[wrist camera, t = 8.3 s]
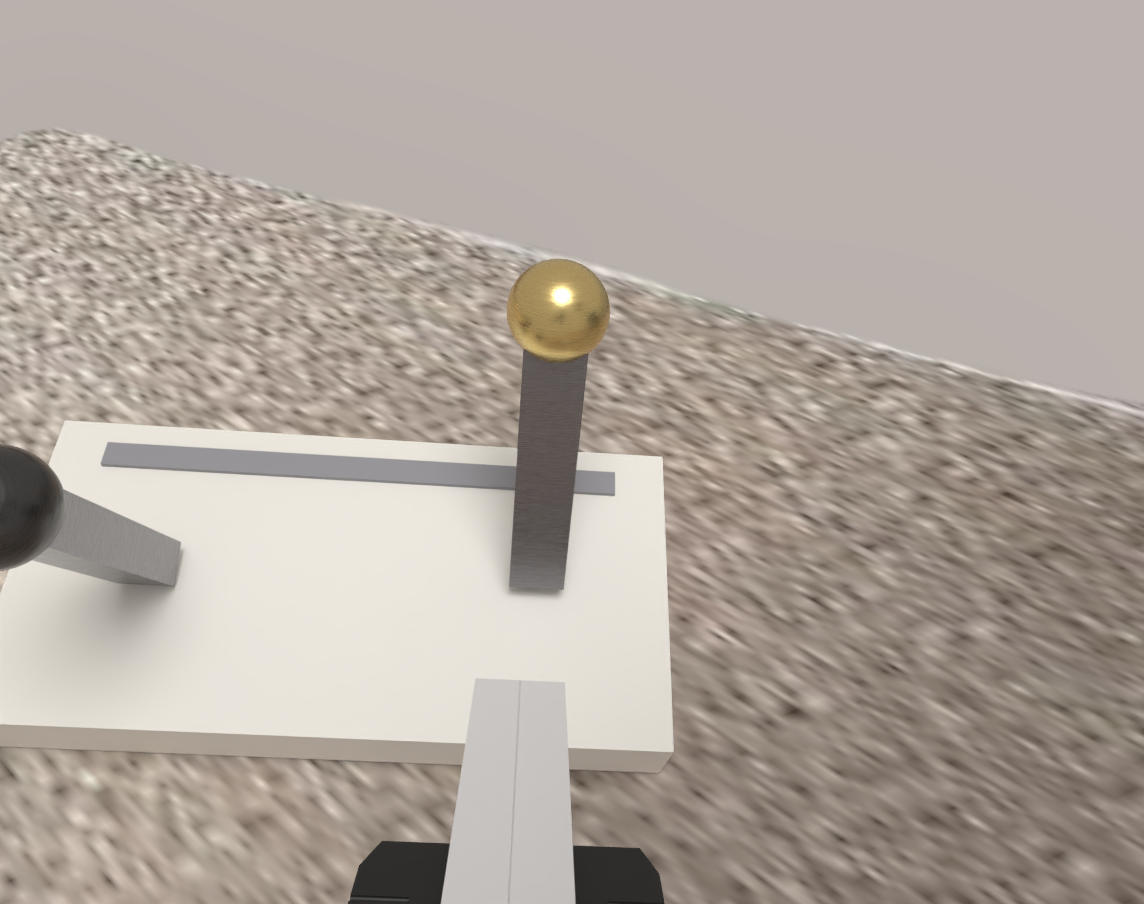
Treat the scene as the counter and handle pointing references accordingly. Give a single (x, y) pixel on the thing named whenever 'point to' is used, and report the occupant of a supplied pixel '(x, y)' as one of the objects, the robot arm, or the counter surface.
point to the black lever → (74, 529)
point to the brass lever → (550, 409)
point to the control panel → (337, 603)
